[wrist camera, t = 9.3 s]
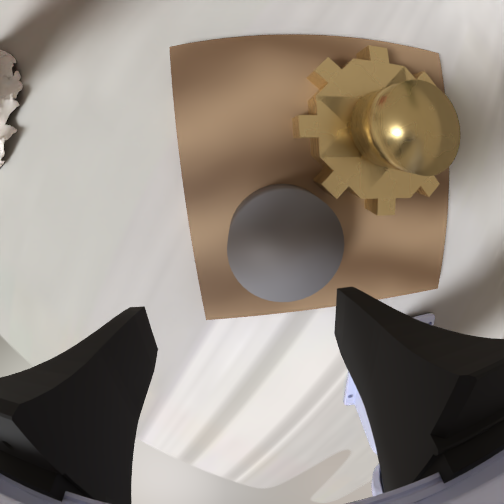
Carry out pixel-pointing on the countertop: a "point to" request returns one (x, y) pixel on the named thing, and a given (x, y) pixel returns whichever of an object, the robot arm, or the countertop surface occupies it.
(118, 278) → the countertop surface
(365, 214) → the carrier plate
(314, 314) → the countertop surface
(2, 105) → the white paper bag
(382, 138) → the brass gear
